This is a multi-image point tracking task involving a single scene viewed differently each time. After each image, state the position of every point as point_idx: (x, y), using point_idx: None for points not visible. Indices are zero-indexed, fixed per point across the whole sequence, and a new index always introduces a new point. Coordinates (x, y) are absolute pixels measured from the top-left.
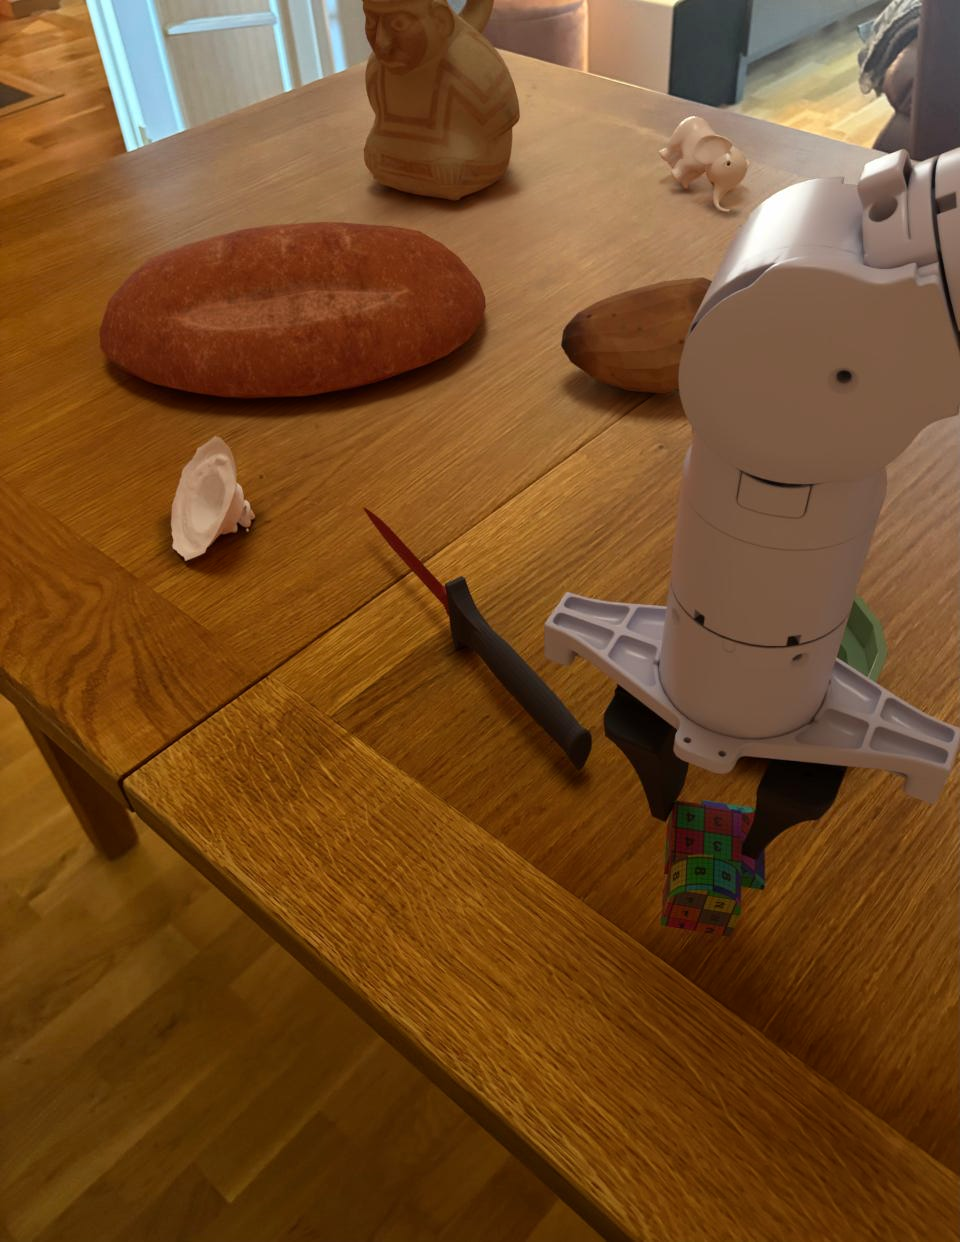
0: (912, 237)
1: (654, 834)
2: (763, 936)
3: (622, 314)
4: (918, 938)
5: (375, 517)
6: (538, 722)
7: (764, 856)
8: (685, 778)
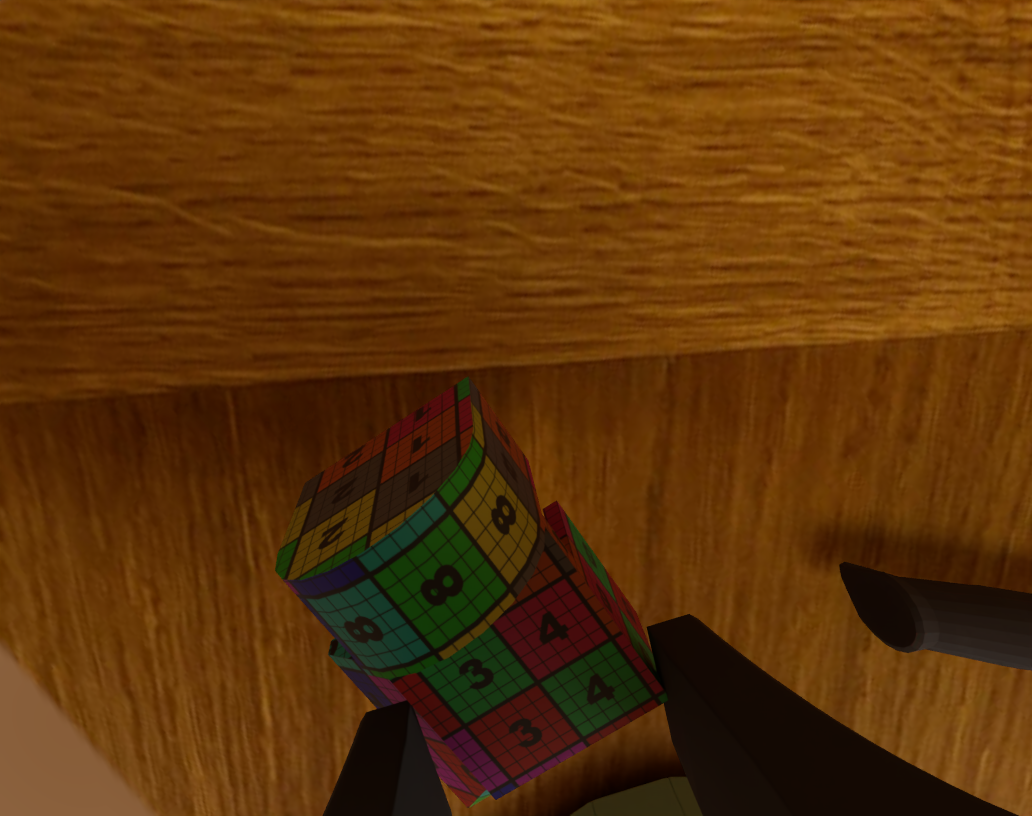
0: None
1: (640, 559)
2: None
3: None
4: (143, 725)
5: None
6: (987, 590)
7: None
8: (685, 772)
